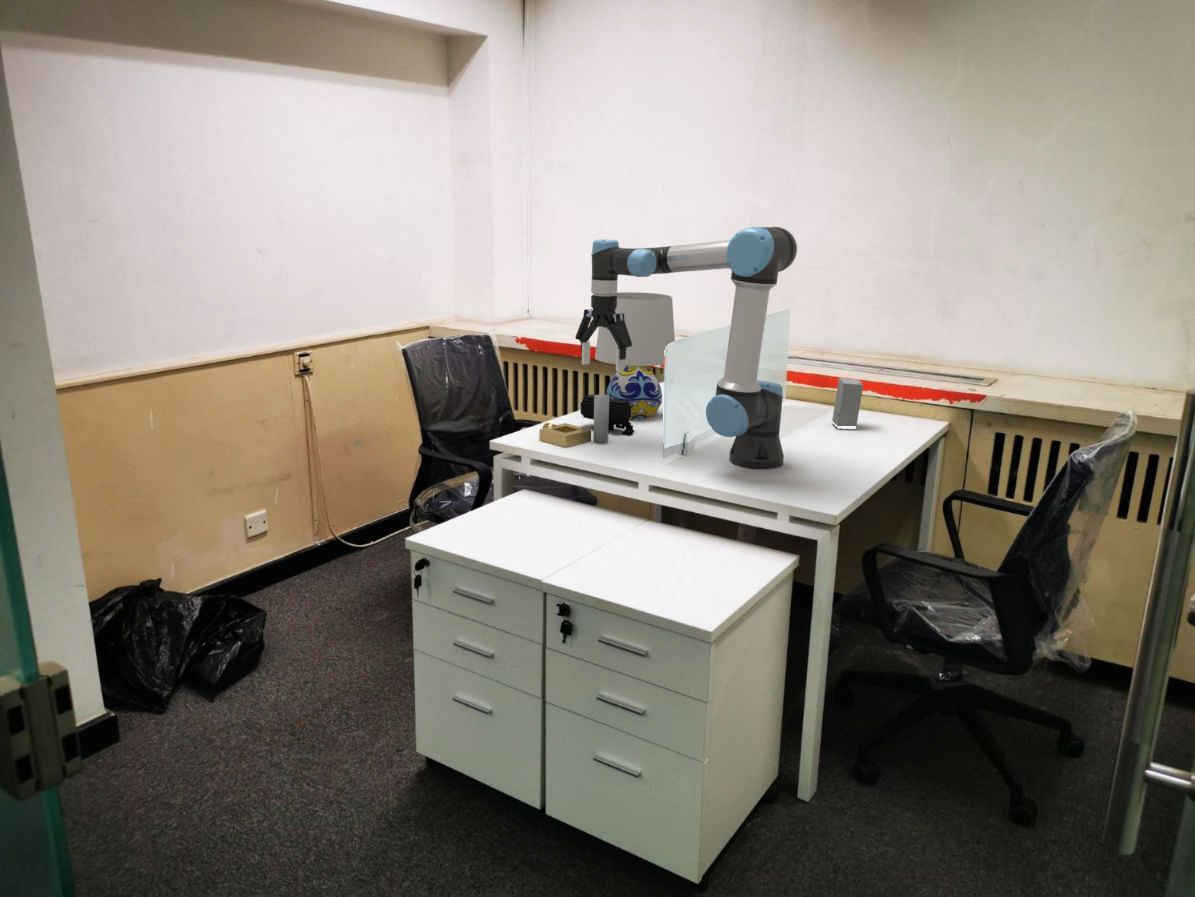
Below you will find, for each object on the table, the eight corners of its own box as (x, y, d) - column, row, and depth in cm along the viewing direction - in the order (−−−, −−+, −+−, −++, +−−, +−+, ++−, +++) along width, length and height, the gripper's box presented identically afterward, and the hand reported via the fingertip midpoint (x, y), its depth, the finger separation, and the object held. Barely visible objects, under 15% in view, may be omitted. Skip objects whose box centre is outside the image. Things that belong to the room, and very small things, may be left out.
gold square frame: (591, 441, 272) (591, 428, 270) (565, 447, 264) (565, 434, 263) (559, 432, 280) (559, 420, 279) (533, 438, 272) (533, 425, 271)
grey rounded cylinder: (610, 441, 271) (612, 396, 267) (601, 444, 268) (602, 398, 264) (600, 439, 274) (601, 394, 270) (590, 441, 271) (591, 396, 267)
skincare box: (831, 423, 300) (835, 377, 296) (852, 424, 300) (857, 377, 296) (836, 430, 292) (841, 382, 288) (859, 430, 292) (864, 382, 287)
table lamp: (604, 426, 290) (608, 300, 279) (585, 407, 315) (587, 291, 304) (684, 422, 296) (691, 300, 285) (659, 404, 322) (664, 291, 311)
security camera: (625, 437, 277) (626, 405, 274) (578, 427, 287) (578, 396, 285) (638, 433, 282) (639, 402, 279) (591, 423, 293) (592, 393, 290)
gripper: (645, 297, 254) (643, 371, 260) (581, 290, 270) (580, 360, 276) (628, 299, 249) (626, 374, 255) (564, 291, 265) (563, 363, 271)
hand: (602, 367), depth 265 cm, fingers open, 13 cm apart
